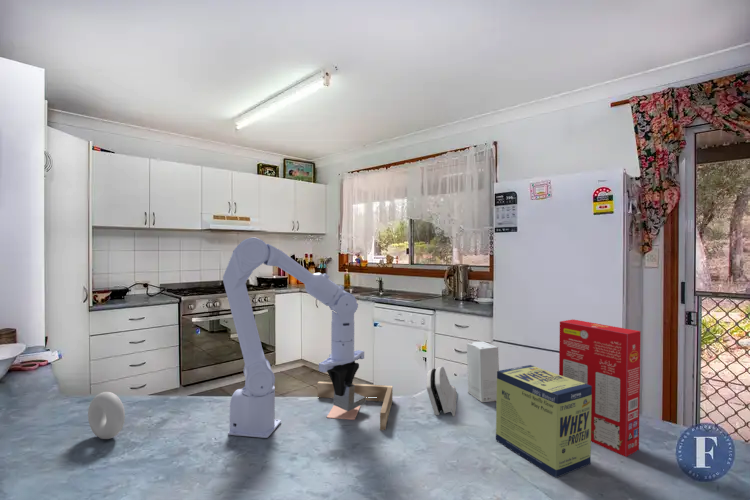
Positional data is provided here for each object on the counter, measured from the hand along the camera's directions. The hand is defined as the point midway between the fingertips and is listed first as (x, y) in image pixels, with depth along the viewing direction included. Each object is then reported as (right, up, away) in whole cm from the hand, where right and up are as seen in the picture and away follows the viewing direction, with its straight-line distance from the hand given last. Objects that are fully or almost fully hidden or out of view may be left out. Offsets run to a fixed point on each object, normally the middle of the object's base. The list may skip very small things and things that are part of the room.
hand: (342, 393), depth 95 cm
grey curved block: (+26, -6, +8) cm, 28 cm away
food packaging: (+58, -6, -10) cm, 59 cm away
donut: (-51, -6, -12) cm, 52 cm away
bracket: (+2, -3, +2) cm, 4 cm away
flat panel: (0, -6, +2) cm, 6 cm away
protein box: (+43, -6, -16) cm, 46 cm away
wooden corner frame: (+1, -6, +2) cm, 6 cm away
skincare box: (+39, -6, +13) cm, 41 cm away
